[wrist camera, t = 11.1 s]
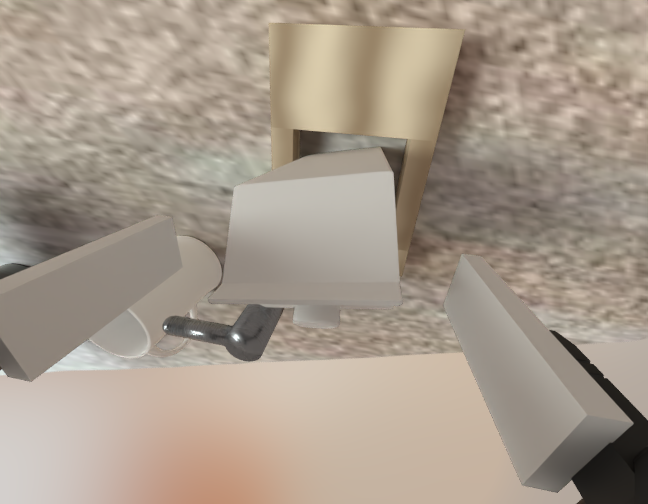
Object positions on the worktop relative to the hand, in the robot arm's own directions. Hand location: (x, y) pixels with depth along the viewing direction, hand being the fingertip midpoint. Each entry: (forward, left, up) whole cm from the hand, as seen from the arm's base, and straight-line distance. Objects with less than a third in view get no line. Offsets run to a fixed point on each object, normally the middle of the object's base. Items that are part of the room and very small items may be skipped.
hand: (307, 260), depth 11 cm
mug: (-19, -14, -16) cm, 28 cm away
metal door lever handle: (-5, -6, -16) cm, 18 cm away
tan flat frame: (0, +2, -16) cm, 16 cm away
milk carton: (0, 0, -16) cm, 16 cm away
